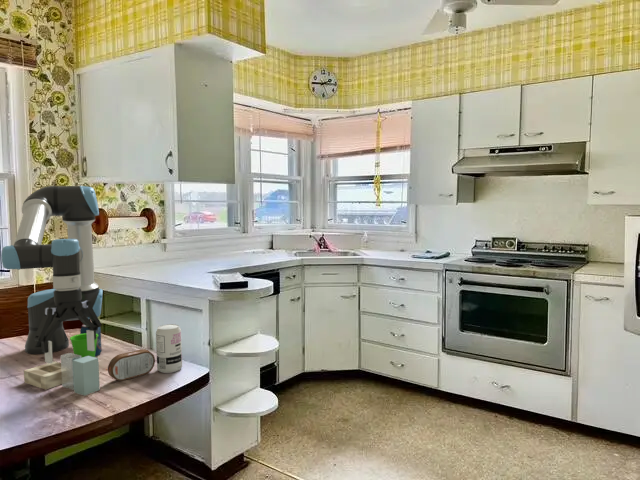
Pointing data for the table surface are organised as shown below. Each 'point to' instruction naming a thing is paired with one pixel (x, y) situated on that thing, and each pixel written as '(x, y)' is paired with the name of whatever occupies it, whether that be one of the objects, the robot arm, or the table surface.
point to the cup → (82, 345)
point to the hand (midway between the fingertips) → (70, 356)
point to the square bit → (86, 375)
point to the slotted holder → (44, 375)
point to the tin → (131, 364)
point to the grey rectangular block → (68, 369)
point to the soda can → (98, 345)
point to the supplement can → (169, 348)
